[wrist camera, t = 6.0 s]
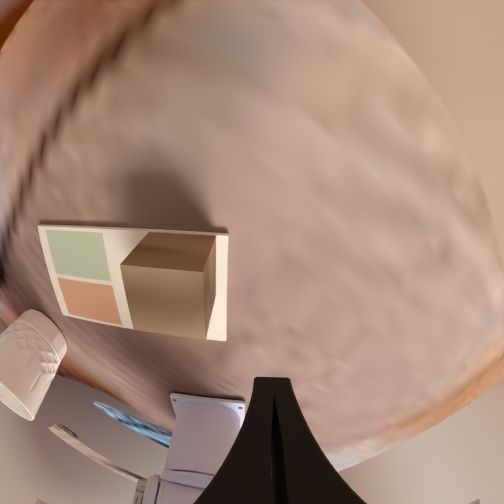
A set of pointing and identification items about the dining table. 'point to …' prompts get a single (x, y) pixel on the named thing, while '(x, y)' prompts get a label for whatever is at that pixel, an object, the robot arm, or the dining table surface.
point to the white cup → (29, 361)
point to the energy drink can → (140, 491)
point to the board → (112, 272)
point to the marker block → (171, 283)
